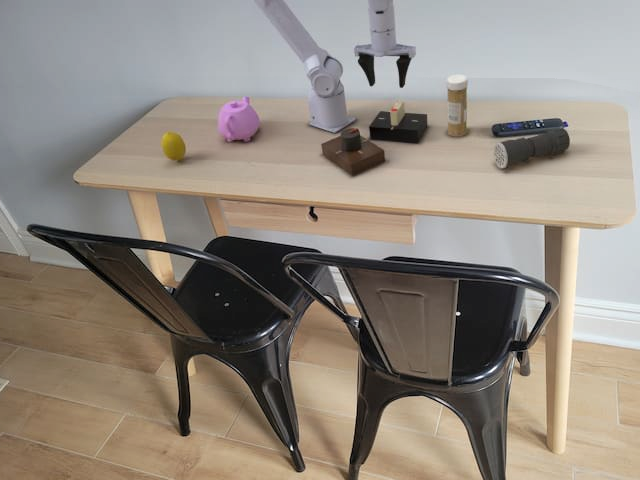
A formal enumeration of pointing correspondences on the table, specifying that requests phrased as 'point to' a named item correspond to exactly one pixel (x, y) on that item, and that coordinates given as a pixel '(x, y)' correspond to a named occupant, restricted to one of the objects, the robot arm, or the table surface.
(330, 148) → the walnut console
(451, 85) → the sprinkles bottle
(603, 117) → the table surface
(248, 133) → the teapot
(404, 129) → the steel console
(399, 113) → the bar knob
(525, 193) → the table surface
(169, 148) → the lemon
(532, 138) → the flashlight
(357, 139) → the round dial
